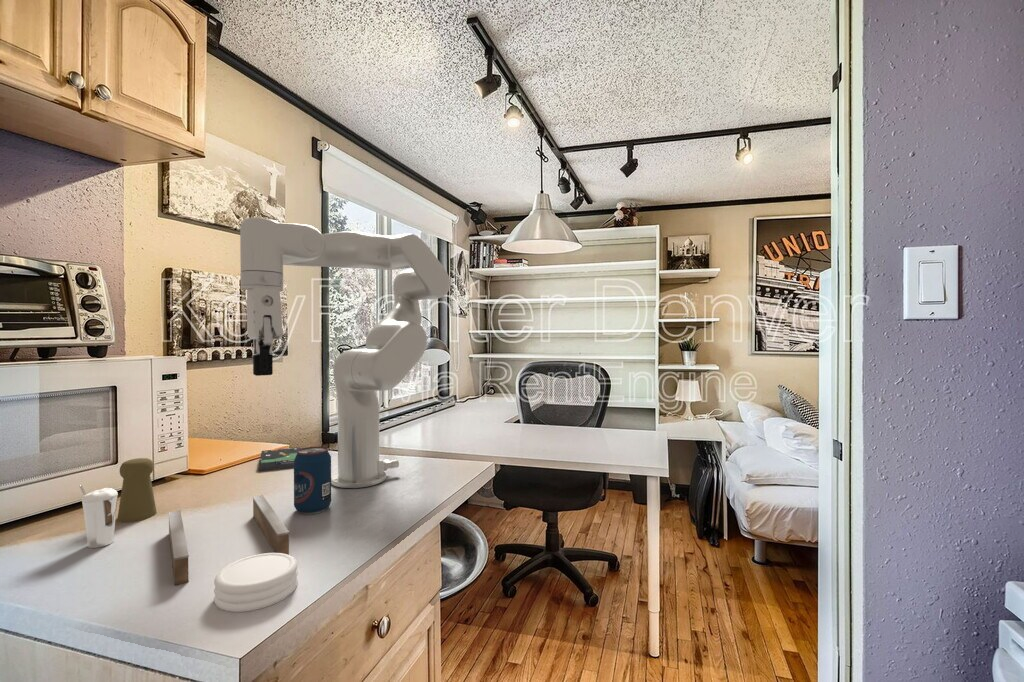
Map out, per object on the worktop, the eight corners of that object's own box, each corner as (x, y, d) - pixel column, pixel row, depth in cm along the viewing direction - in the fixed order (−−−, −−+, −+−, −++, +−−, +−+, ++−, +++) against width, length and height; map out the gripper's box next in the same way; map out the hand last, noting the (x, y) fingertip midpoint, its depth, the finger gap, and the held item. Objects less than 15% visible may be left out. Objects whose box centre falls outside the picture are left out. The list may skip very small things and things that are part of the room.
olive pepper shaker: (134, 523, 89) (134, 464, 89) (108, 520, 90) (108, 462, 90) (164, 511, 95) (164, 456, 95) (139, 509, 96) (139, 454, 96)
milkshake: (91, 539, 82) (91, 481, 82) (125, 537, 82) (124, 480, 82) (69, 551, 77) (68, 489, 77) (104, 549, 78) (104, 488, 78)
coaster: (308, 573, 70) (308, 550, 70) (279, 613, 60) (279, 585, 60) (238, 576, 70) (238, 552, 70) (197, 616, 60) (197, 588, 60)
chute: (262, 514, 93) (262, 495, 93) (289, 555, 76) (289, 531, 76) (168, 533, 84) (168, 512, 84) (174, 585, 67) (174, 558, 67)
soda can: (285, 512, 94) (285, 452, 94) (312, 501, 100) (312, 444, 100) (313, 517, 91) (312, 455, 91) (338, 505, 98) (338, 447, 98)
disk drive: (260, 460, 136) (258, 473, 123) (260, 450, 136) (258, 462, 123) (300, 456, 141) (302, 468, 127) (300, 446, 141) (302, 457, 127)
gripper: (291, 280, 91) (292, 376, 91) (275, 286, 103) (275, 372, 103) (247, 277, 86) (247, 378, 87) (235, 284, 98) (235, 373, 98)
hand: (263, 374), depth 95 cm, fingers closed
